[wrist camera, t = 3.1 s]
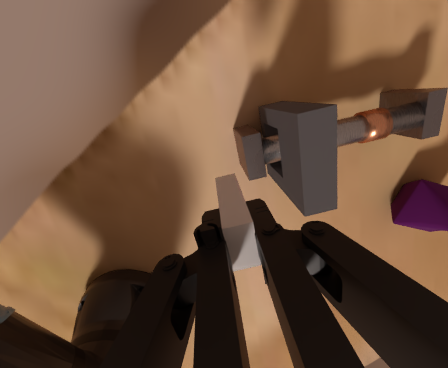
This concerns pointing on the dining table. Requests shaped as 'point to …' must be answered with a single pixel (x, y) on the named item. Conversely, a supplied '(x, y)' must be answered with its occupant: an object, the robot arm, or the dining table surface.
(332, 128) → the collar
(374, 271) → the robot arm
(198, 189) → the dining table surface
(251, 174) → the pipe stand
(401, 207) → the perfume bottle
